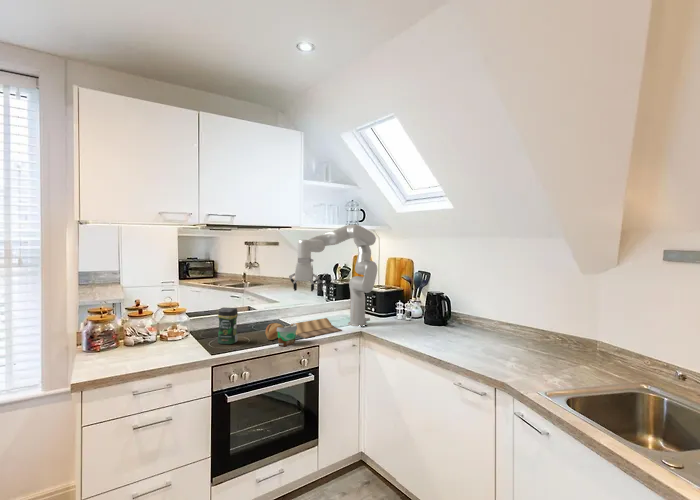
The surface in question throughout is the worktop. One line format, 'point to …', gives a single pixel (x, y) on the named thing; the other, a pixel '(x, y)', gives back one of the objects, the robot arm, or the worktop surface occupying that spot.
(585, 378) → the worktop surface
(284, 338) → the food container
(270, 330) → the bread roll
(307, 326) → the oak board
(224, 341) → the coffee jar
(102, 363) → the worktop surface
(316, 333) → the walnut board
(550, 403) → the worktop surface
